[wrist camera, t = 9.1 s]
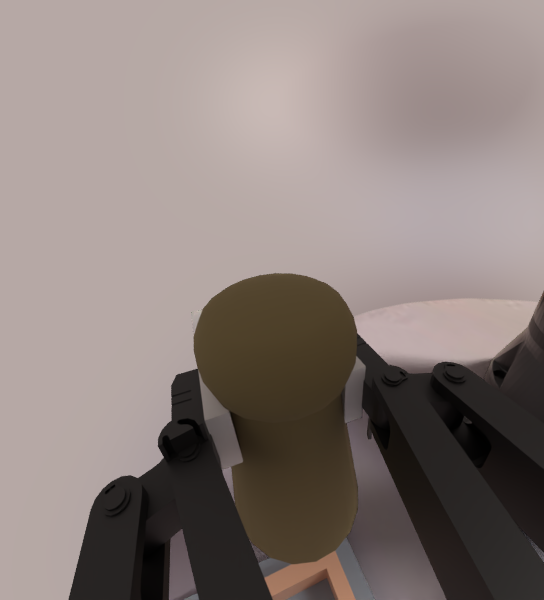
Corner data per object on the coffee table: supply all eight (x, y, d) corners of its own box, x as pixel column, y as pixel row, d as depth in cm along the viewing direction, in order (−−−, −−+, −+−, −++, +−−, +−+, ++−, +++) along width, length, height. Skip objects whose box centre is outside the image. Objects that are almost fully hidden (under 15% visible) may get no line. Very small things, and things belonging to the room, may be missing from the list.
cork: (216, 467, 15) (148, 289, 10) (307, 411, 18) (295, 242, 12) (273, 604, 11) (205, 415, 5) (387, 504, 13) (428, 298, 7)
